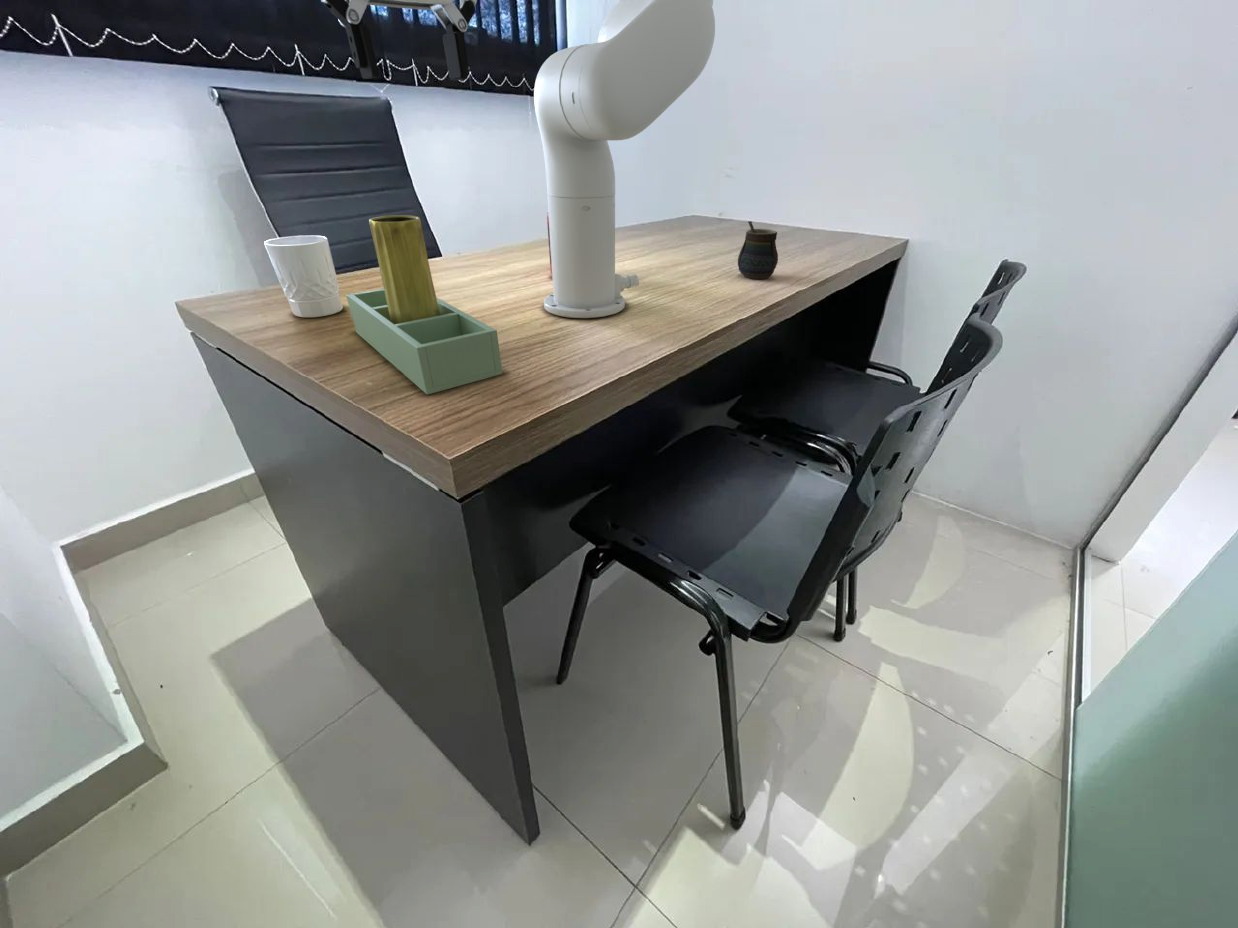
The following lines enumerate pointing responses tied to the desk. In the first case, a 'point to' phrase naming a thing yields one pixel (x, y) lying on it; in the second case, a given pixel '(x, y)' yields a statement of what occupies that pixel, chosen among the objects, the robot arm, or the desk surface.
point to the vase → (404, 268)
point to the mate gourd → (758, 253)
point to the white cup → (306, 274)
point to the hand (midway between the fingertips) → (416, 78)
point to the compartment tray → (429, 343)
